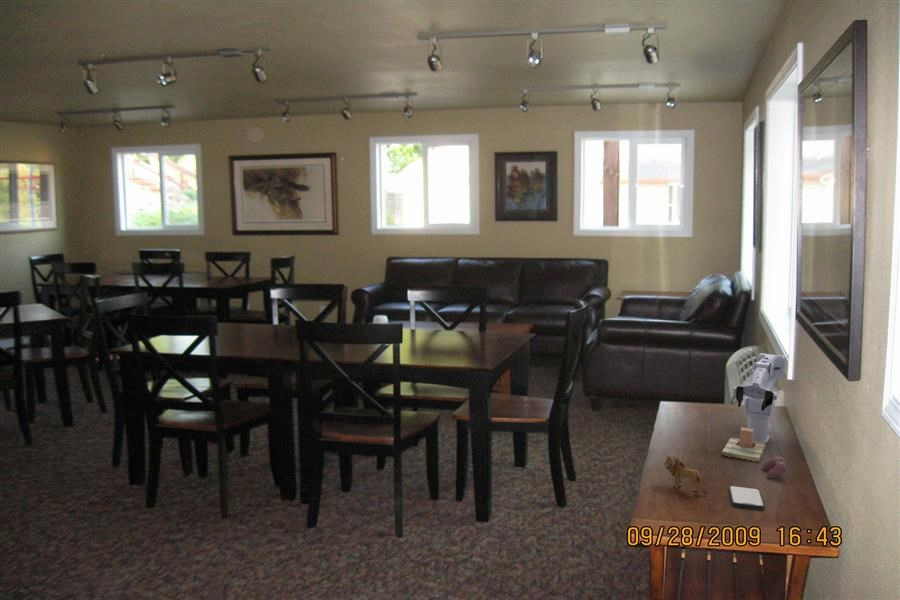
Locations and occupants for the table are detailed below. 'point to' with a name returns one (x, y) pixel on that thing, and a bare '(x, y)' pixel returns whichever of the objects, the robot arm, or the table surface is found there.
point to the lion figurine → (683, 473)
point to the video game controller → (775, 467)
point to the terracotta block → (746, 437)
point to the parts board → (744, 450)
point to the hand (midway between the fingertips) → (750, 406)
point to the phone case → (746, 498)
